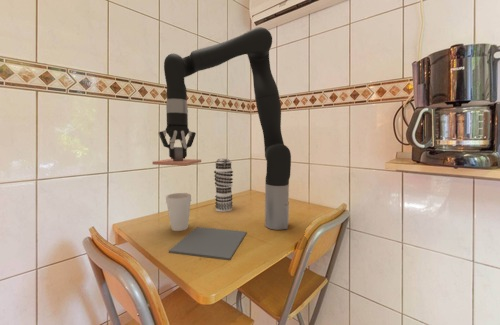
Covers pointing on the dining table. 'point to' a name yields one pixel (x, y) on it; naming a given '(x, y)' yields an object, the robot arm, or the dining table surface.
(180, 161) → the lid
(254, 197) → the dining table surface
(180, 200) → the foam cup
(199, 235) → the mat
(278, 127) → the robot arm
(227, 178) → the decorative candle
